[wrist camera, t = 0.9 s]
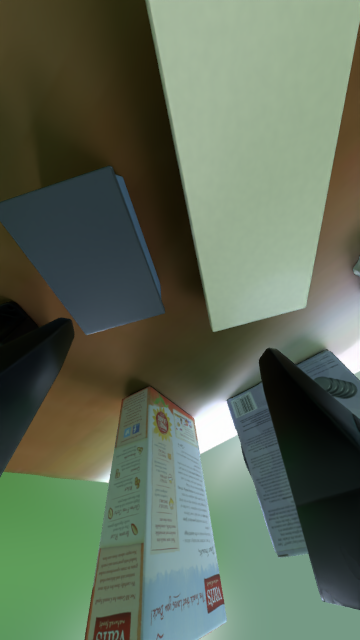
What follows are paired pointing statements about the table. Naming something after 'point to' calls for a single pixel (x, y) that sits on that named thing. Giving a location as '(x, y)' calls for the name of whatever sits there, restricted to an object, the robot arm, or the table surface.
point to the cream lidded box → (254, 139)
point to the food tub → (88, 248)
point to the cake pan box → (266, 454)
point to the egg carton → (357, 268)
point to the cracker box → (155, 532)
